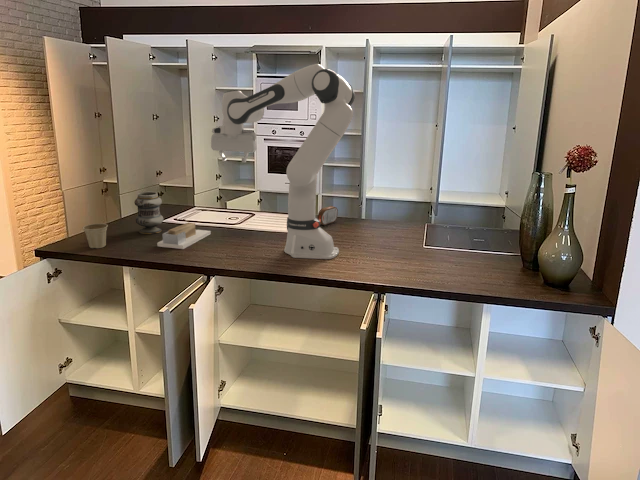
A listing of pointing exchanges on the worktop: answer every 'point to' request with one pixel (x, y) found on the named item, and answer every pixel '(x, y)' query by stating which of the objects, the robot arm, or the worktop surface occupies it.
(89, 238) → the flower pot
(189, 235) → the rail
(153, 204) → the apothecary jar
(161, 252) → the worktop surface
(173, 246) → the bracket
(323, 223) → the tin
